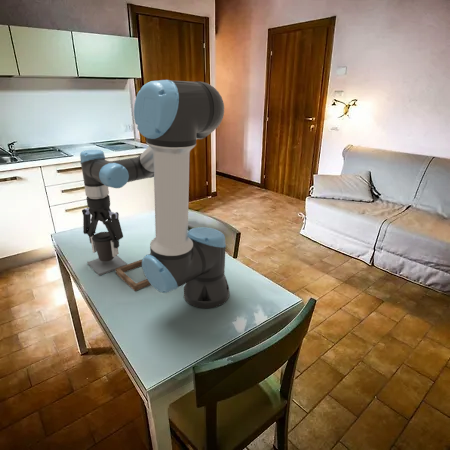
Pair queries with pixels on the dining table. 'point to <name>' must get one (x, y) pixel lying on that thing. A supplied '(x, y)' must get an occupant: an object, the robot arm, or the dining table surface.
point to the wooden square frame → (128, 280)
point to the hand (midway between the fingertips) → (105, 253)
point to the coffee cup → (103, 246)
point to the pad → (106, 265)
